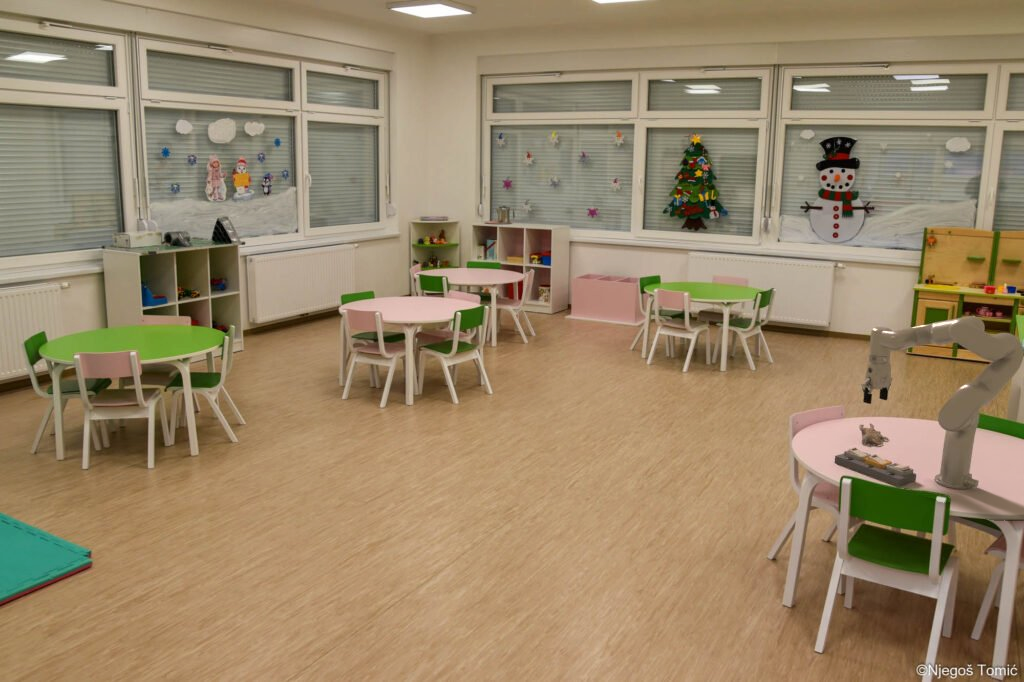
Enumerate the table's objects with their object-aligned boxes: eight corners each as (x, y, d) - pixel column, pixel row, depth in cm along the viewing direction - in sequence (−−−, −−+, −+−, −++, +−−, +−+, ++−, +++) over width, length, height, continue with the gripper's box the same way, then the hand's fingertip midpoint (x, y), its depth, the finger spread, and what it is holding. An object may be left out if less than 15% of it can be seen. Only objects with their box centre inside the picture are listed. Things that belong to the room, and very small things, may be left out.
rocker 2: (909, 468, 312) (909, 465, 312) (903, 470, 310) (902, 467, 310) (896, 467, 317) (895, 464, 317) (889, 469, 315) (889, 466, 315)
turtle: (866, 441, 364) (860, 420, 364) (889, 437, 360) (883, 415, 360) (864, 452, 351) (857, 429, 350) (888, 448, 346) (881, 425, 346)
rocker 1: (866, 456, 328) (867, 454, 327) (859, 458, 326) (860, 456, 325) (854, 449, 332) (855, 447, 331) (848, 451, 330) (849, 448, 329)
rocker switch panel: (915, 481, 312) (916, 470, 311) (898, 487, 307) (900, 475, 306) (850, 458, 335) (851, 447, 334) (834, 462, 330) (835, 452, 329)
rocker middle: (886, 464, 320) (887, 461, 320) (880, 466, 318) (881, 463, 318) (874, 456, 324) (875, 454, 324) (868, 458, 322) (869, 455, 322)
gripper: (873, 363, 319) (869, 406, 323) (901, 358, 327) (897, 400, 331) (856, 359, 325) (852, 402, 329) (884, 354, 334) (881, 395, 337)
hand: (875, 401), depth 330 cm, fingers open, 9 cm apart
